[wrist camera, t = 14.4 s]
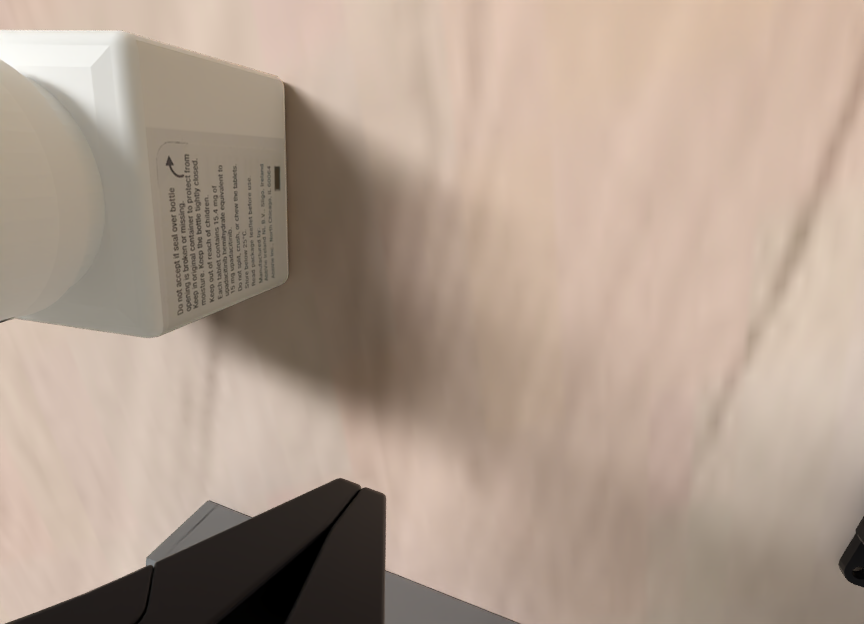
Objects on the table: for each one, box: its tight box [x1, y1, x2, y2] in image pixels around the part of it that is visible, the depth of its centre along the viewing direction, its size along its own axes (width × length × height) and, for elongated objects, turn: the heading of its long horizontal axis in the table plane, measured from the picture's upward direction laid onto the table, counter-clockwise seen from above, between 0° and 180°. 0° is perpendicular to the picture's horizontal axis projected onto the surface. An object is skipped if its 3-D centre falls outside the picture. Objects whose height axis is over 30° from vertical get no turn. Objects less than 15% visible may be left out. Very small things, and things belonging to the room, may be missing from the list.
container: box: [0, 30, 289, 338], centre depth 15 cm, size 8×8×13 cm
